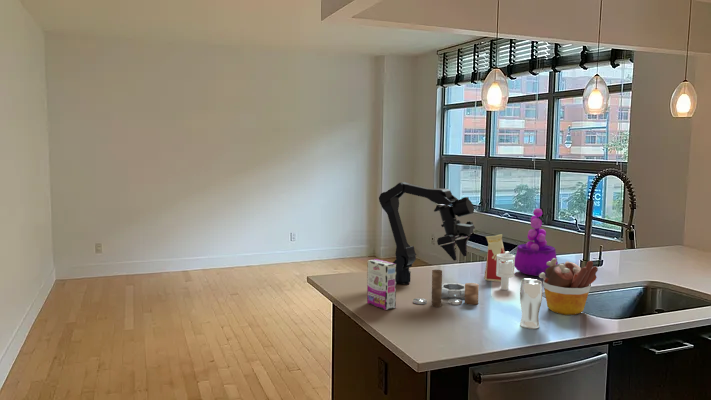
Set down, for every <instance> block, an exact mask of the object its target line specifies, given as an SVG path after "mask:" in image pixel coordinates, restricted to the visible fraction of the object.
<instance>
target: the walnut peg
mask: <svg viewBox="0 0 711 400" xmlns="http://www.w3.org/2000/svg"><path fill="white" fill-rule="evenodd" d="M442 284H443V270H442V269H432V271H431V302H430V303H431V307H435V308H439V307H442Z"/></svg>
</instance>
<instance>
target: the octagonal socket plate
mask: <svg viewBox="0 0 711 400" xmlns="http://www.w3.org/2000/svg"><path fill="white" fill-rule="evenodd" d="M442 299H444V300H449V299H460V300H465V284H463V283H457V282H445V283H442ZM442 299H441V300H442Z"/></svg>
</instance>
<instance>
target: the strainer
mask: <svg viewBox="0 0 711 400" xmlns="http://www.w3.org/2000/svg"><path fill="white" fill-rule="evenodd" d="M515 256H516V255H515V254H510V251H508V250H507V251H505V254H497V265H496V276H498V277H501V282H500V290H503V291H508V290H510V288H509V285H510V284H509V282H510V279H511V278H514V277H515ZM499 259H501V260H499ZM501 261H502V262H504V261H506V262H505V263H501Z"/></svg>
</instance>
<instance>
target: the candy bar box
mask: <svg viewBox="0 0 711 400" xmlns="http://www.w3.org/2000/svg"><path fill="white" fill-rule="evenodd" d="M366 280H367V285H366V286H367V290H366V292H367V295H366V296H367V297H366V302H367V304H368V305H371V306H374V307H377V308H379V309H382V310H384V311H390V310H393V309H396V305H397V304H396V303H397V301H396V299H397V284H396V264H394V263H393V262H390V261H386V260H382V259H379V258H378V259H377V258H375V259H370V260H369V259H368V260H367V279H366Z"/></svg>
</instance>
